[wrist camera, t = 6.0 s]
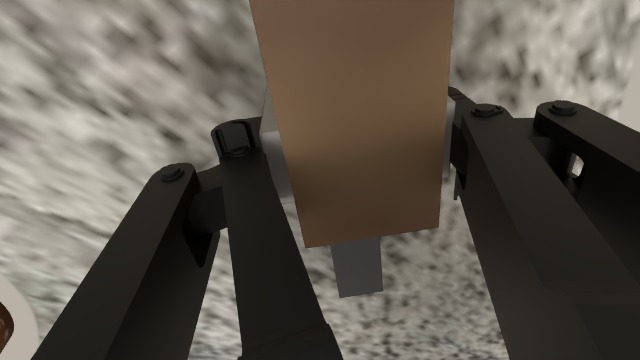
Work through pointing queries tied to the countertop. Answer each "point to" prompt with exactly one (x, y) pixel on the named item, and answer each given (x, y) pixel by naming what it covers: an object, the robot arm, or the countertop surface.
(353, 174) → the brown block
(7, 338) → the food container
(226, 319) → the countertop surface
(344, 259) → the rail
